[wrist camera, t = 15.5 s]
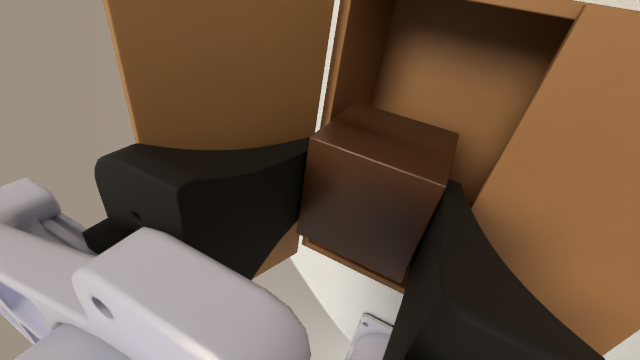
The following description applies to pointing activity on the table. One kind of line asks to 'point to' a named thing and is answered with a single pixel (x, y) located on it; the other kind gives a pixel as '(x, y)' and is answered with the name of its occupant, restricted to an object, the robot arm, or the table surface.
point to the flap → (222, 74)
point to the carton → (519, 135)
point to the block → (374, 186)
